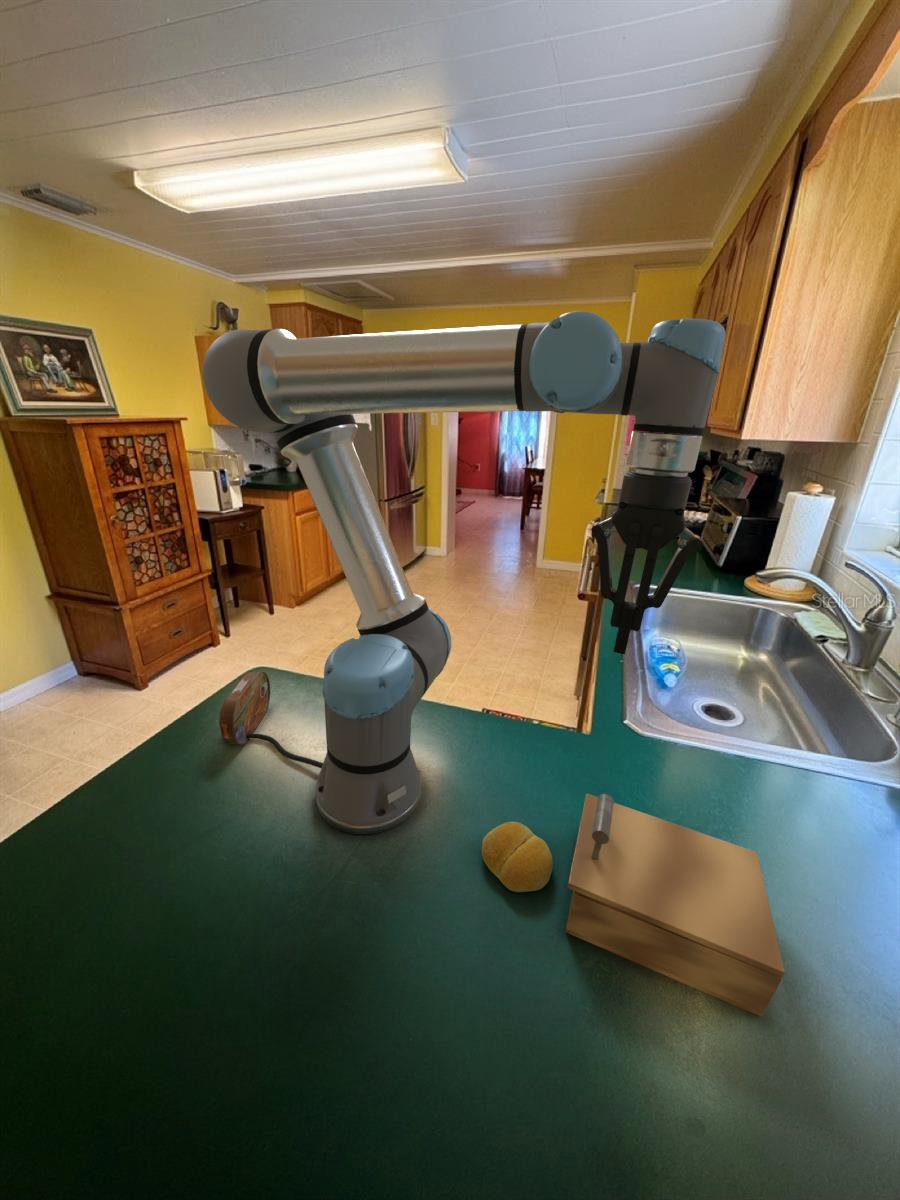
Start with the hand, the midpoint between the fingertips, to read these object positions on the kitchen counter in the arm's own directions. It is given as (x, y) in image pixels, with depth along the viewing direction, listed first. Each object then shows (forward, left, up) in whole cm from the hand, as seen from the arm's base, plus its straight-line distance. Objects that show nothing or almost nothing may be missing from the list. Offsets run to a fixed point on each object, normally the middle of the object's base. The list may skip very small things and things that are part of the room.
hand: (619, 649), depth 64 cm
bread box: (+10, -17, -24) cm, 31 cm away
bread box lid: (+10, -17, -18) cm, 27 cm away
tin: (-57, -12, -25) cm, 63 cm away
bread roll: (-7, -18, -25) cm, 31 cm away
